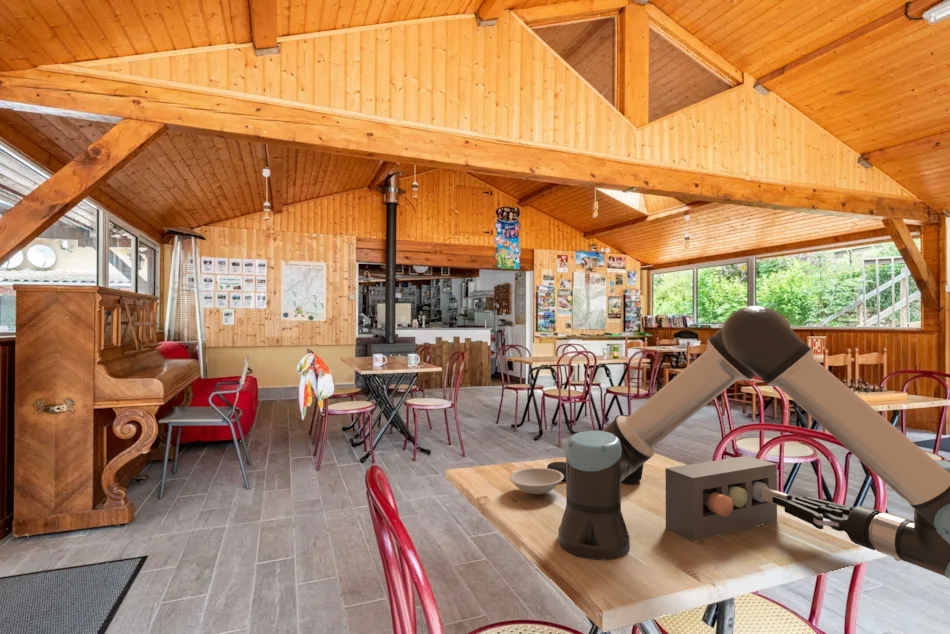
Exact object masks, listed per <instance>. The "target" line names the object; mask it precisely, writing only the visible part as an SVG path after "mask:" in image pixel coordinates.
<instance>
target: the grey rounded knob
mask: <svg viewBox="0 0 950 634" xmlns="http://www.w3.org/2000/svg"><path fill="white" fill-rule="evenodd" d="M737 487H740V483H737ZM765 487H766V488H768V486H767V485H766V484H765V483H761V482H758V481H755V480H754V481H752V499H754V500H757V501H760V502H764V500H762V491H761V488H765Z"/></svg>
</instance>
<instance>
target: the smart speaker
mask: <svg viewBox="0 0 950 634" xmlns="http://www.w3.org/2000/svg"><path fill="white" fill-rule="evenodd" d="M546 468H548V469H553V470H557V471H559V472H561V473H562V474H563V475H564V479H563V480H566V461H554V462H550V463H548V464H547V467H546Z"/></svg>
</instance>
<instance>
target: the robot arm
mask: <svg viewBox="0 0 950 634" xmlns="http://www.w3.org/2000/svg"><path fill="white" fill-rule="evenodd" d="M706 344H707V347H706V350H705V351H704V352H703V353H701V355H700V356H698V357H697V358H696V359H694V361H692V362H691V363H690V364H688V366H686V367H685V368H684V369H683V370H681V372H679V373H678V374H677V375H675V377H673V378H672V379H671V380H670V381H669V382H667V383H666V384H665V385H664V386H663V387H662V388H660V389H659V390H658V391H657V392H656V393H654V394H653V395H652V396H651V397H650V398H649V399H648V400H646V401H644V403H643V404H642V405H640V406H639V407H638V408H637V409H635V410H634V411H633V412H632V413H631V414H630V415H628V417H627V416H618V415H617V416H618V417H617V418H616V417H615V418H616V419H615V418H614V419H613V420H612V421H611V422H610V423H608V424H607V426H605V427H604V428H603V429H602V430H584V431H579V432H576V433H574V434H572V435H571V436H570V437H569V438H568V439H567V441H566V449H565V452H564V454H565V462H566V481H565V486H566V487H565V489H566V492H565V493H566V494H565V495H566V498H565V499H566V500H565V501H566V502H565V503H566V504H565V507H564V508H565V509H564V511H563V515H562V518H561V523H560V524H559V527H558V530H557V531H558V532H557V533H558V536H557V537H558V539H557V540H558V543H559V545H560V546H561V548H563V549H564V550H565V551H567V552H569V553H571V554H573V555H575V556H578V557H581V558H587V559H593V560H611V559H612V560H613V559H618V558H621V557H624V556H625V555H627V554H628V552H629V550H630V545H631V544H630V535H629V531H628V530H627V529H628V528H627V525H626V522H625V519H624V515H623V513H622V504H621V503H622V482H623V480H624V479H625V478H626V477H627V476H628V475H630V474H631V473H633V472H634V471H635V470H636V469H637V468H638V467H640V466H641V465H642V464H643V465H644V464H645V463H646V462H647V461H649V460H650V459H651V458H652V457H653V456H655V446H656V445H658V443H660V442H661V441H663V440H664V439H665V438H666V437H668V436H669V435H670V434H672V433H673V432H674V431H675V430H677V428H679V427H681V426H682V425H683V424H684V423H685V422H686V421H688V420H689V419H690V418H692V417H693V416H694V415H695V414H697V413H698V412H699V411H700V410H702V409H703V408H704V407H705V406H707V405H708V404H709V403H710V402H712V401H713V400H714V399H715V398H717V397H718V396H719V395H721V394H722V393H724V391H725V390H727V389H728V388H730V386H732V385H733V384H735V383H736V382H737V381H739V380H740V381H751V380H752V379H754V378H755V377H756V376H757V377H758V378H759V379H761V381H763V382H764V383H765V384H766V385H767V386H771V387H778V388H779V389H780V390H782V392H784V394H786V395H787V396H788V397H789V398H790V399H791V400H793V401H794V402H795V404H797V405H798V406H799V407H801V408H802V409H803V410H804V411H805V412H806V413H807V414H808V415H809V416H811V417H812V418H813V419H814V420H815V421H816V422H817V423H818V424H819V425H820V426H821V427H823V428H824V429H825V430H826V431H827V432H828V433H829V434H831V435H832V436H833V437H834V438H835V439H836V440H837V441H838V442H840V443H841V444H842V445H843V447H845V448H846V449H847V450H848V451H849V452H851V453H852V455H853V456H855V457H857V459H858V460H859V461H861V462H862V463H863V465H865V466H866V467H867V468H868V469H870V471H872V472H873V474H875V475H876V476H877V477H879V479H880V480H882V481H883V482H884V483H885V484H886V485H887V486H889V488H891V490H893V491H894V492H895V493H896V494H897V495H899V496H900V497H901V498H902V499H903V500H904V501H905V502H906V503H907V504H909V505H910V507H911V508H912V509H913V510H914V511H913V512H914V516H913V520H911V519H909V518H905V517H903V516H899V515H896V514H893V513H888V512H881V511H880V510H877V509H874V508H871V507H867V506H863V505H857V506H853V505H852V506H851V505H847V504H846V505H845V504H841V503H837V502H831V501H828V500H824V499H820V498H815V497H811V496H807V495H802V496H798V495H795V496H793V495H792V494H788V493H785V492H782V491H780V490H777V491H776V490H773V489H769V488H766V487H765V488H761V491H762V500H764V501H767V502H770V503H773V504H776V505H777V506H779V507H782V508H784V513H786V514H789V515H791V516H793V517H795V518H797V519H800V520H802V521H804V522H806V523H808V524H811V525H812V526H813V527H815V528H816V529H818V530H824V526H826V527H830V528H831V529H833V531H834V530H835V531H838V532H845V534H847V536H848V537H849V540H850V541H851V542H852V543H854V544H855V545H857V546H861V547H864V548H867V549H870V550H871V551H877V552H878V553H881V554H884V555H886V556H889V557H892V558H894V560H895V561H896V562H899V561H903V562H906V563H909V564H912V565H914V566H917V567H920V568H922V569H926V570H928V571H930V572H933V573H936V574H938V575H941V576H943V577H945V578H947V579H949V580H950V461H948V460H940V459H933V457H931V456H930V455H929V454H927V453H926V452H925V451H924V450H923V449H922V448H920V447H919V445H917V444H916V443H914V442H913V441H912V440H911V439H910V438H909V437H908V436H906V434H904V433H903V432H901V430H899V429H898V428H897V427H896V426H895V425H894V424H892V423H891V422H889V421H888V420H887V419H886V418H885V417H883V415H882V414H880V413H879V412H878V411H877V410H876V409H875V408H873V407H872V406H871V405H870V404H868V402H866V401H865V400H864V399H862V397H860V396H859V395H857V394H856V392H854V391H853V390H852V389H851V388H850V387H848V386H847V385H846V384H845V383H844V382H842V381H841V380H840V379H839V378H838V377H836V376H835V375H834V374H833V373H832V372H831V371H829V370H828V369H827V368H826V367H825V366H824V365H822V364H821V363H820V362H819V361H818V360H816V359H815V358H814V350H813V348H812V347H810V346H809V345H808V344H807V343H806V342H804V340H803V339H802V338H801V337H799V336H798V335H797V333H796V332H795V331H794V330H793V329H792V328H791V325H790V323H789V321H788V320H787V319H786V318H785V317H784V315H782V314H781V313H779V312H778V311H776V310H774V309H772V308H769V307H766V306H761V305H750V306H745V307H742V308H740V309H738V310H736V311H735V312H733V313H731V314H730V315H729V317H727V319H726V321H725V322H724V324H723V326H722V327H720V328H719V329H718V330H717V331H716V332H715V333H714V334H713V335H711V336H710V338H708V339H707V343H706Z"/></svg>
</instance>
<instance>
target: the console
mask: <svg viewBox="0 0 950 634" xmlns="http://www.w3.org/2000/svg"><path fill="white" fill-rule="evenodd" d="M777 468H778V467H777V463H774V462H771V461H768V460H764V459H761V458H756V457H753V456H749V455H744V456H738V457H737V456H736V457H730V458H724V459H718V460H717V459H716V460H712V461H704V462H697V463H692V464H686V465H685V464H683V465H679V466H678V465H677V466H671V467H665V529H667V530H669V531H671V532H673V533H675V534H678V536H681V537H684V538H685V539H687V540H689V541H692V542H698V541H702V540H705V539H710V538H714V537H718V536H722V535H727V534H730V533H731V534H732V533H735V532H739V531H745V530H747V529H751V527H752V528H756V527H759V526H758V525H760V526H763V525H762V524H765V525H768V524H767V523H769V524H772V523H771V522H773V523H776V521H777V522H778V505H776V504H773V503H770V502H767V501H764V502H760V501H757V500H754V499H752V481H754V480H755V481H758V482H761V483H765V484H766V485H767V486H768V488H769V489H773V490H776V491H778V487H777V486H778V481H777V479H778V477H777V475H778V474H777V473H778V469H777ZM737 483H740V488H743V489H745V490H746V492H747V501H746V503H745V505H744V506H743V507H737V506H734V505H733V510H732V512H731V514H730V515H729V516H727V517H723V516H721V515H719V514H716V513H714V512H711V511H710V510H709V508H708V506H707V505H705V504H703V493H708V494H712V493H714V492H715V488H716V492H717V493H720V494H722V495H725V496H728V485H734V486H737ZM755 526H756V527H755Z"/></svg>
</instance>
